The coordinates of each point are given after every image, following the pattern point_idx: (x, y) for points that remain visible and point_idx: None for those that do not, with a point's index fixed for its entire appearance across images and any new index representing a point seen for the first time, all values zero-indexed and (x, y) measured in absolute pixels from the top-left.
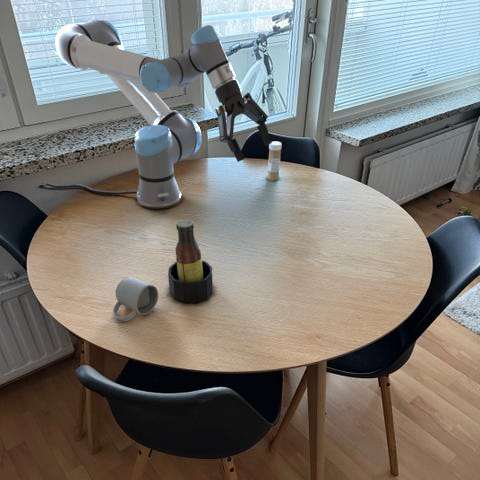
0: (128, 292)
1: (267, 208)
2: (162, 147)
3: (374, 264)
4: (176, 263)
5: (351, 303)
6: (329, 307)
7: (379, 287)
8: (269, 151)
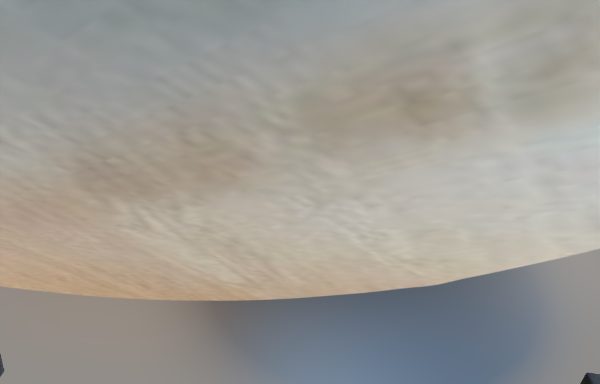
0: None
1: None
2: None
3: (248, 265)
4: None
5: (81, 270)
6: (27, 259)
7: (177, 279)
8: None
